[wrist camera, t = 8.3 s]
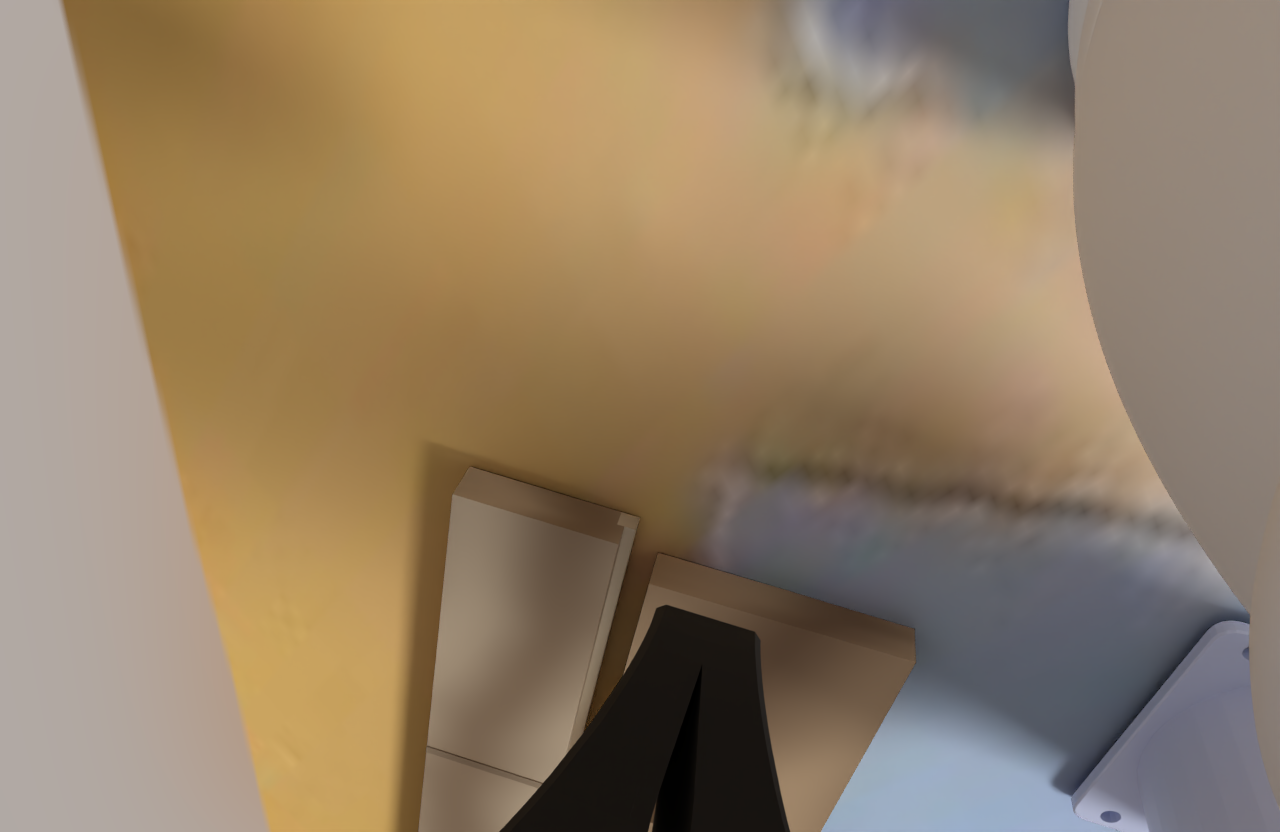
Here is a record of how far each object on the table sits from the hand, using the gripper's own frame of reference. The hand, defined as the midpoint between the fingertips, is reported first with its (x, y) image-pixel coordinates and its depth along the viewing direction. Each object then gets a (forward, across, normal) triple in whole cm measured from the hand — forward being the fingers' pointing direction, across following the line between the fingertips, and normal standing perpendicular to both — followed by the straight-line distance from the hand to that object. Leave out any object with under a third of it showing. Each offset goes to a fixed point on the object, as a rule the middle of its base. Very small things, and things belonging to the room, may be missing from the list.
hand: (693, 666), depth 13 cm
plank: (+10, -3, +12) cm, 16 cm away
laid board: (+10, +4, +17) cm, 20 cm away
